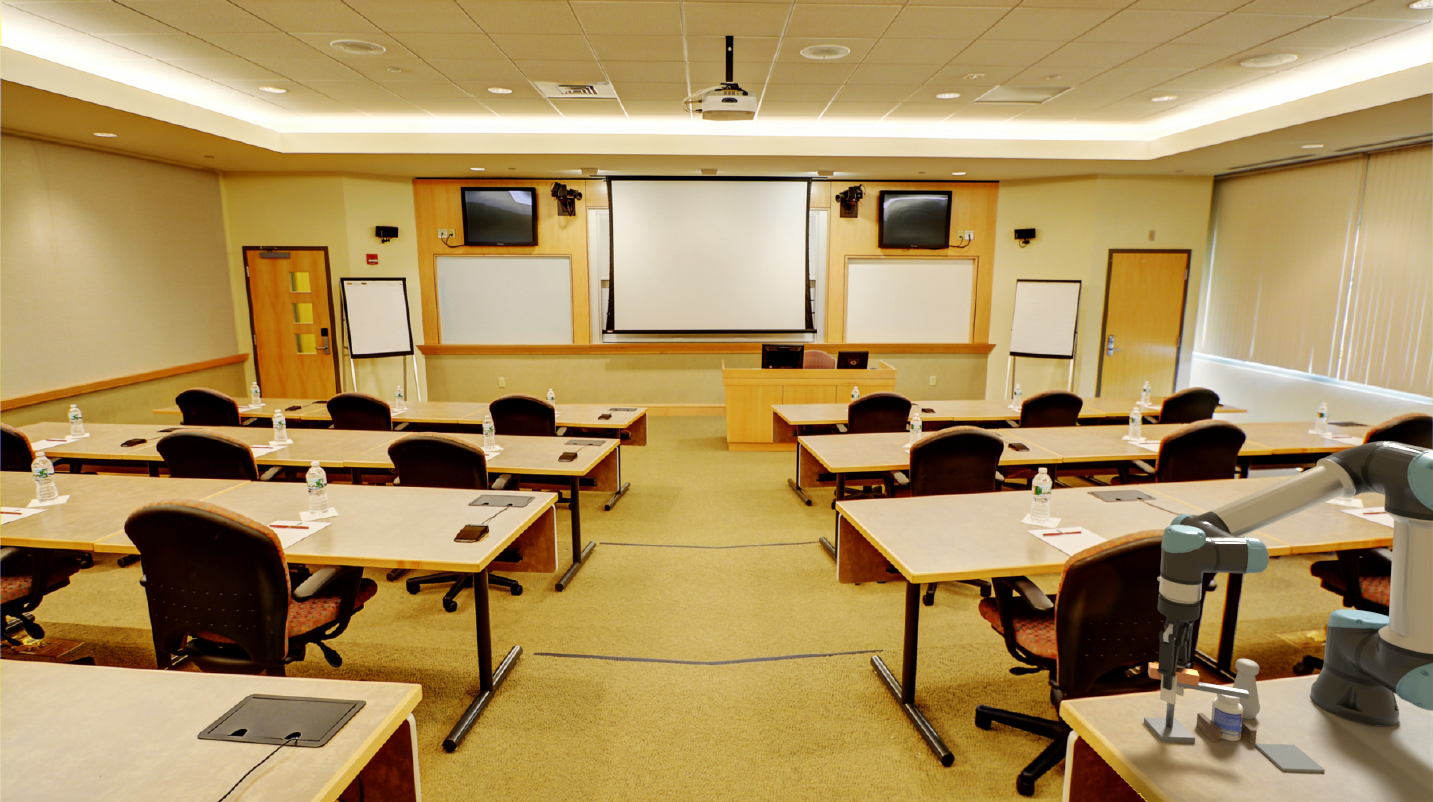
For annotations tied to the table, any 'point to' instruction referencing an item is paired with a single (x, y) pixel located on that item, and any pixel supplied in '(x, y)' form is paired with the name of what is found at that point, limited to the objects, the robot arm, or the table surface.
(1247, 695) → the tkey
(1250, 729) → the cradle
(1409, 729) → the table surface
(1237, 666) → the salt shaker
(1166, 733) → the grey stand base plate
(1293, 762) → the pad
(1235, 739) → the pill bottle
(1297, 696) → the table surface
